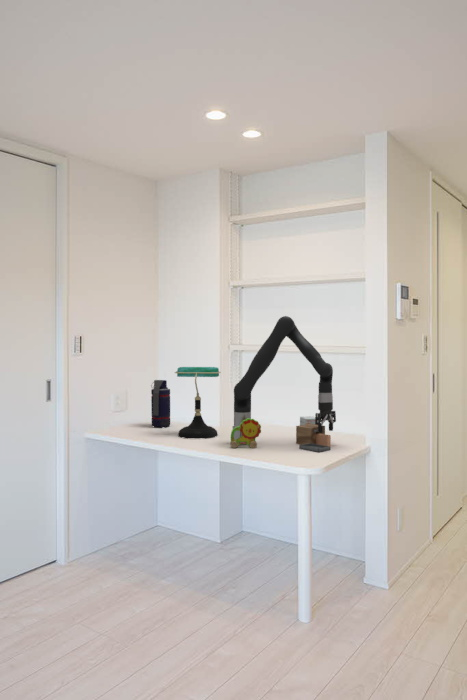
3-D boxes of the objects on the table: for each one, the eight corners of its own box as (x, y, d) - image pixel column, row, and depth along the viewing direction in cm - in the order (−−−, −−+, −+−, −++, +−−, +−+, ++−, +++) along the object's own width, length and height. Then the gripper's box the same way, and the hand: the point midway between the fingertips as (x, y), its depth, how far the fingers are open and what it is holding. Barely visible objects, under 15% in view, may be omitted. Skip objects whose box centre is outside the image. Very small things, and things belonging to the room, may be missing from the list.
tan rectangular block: (327, 447, 300) (327, 435, 300) (312, 444, 307) (312, 433, 307) (330, 446, 301) (330, 435, 301) (315, 444, 309) (315, 432, 309)
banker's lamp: (222, 432, 346) (222, 366, 345) (217, 439, 323) (217, 368, 322) (179, 431, 348) (179, 365, 347) (171, 438, 325) (171, 368, 324)
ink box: (305, 439, 322) (305, 418, 322) (299, 436, 330) (299, 416, 330) (319, 438, 324) (319, 417, 324) (313, 436, 333) (313, 415, 332)
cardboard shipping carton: (311, 446, 302) (311, 428, 301) (296, 443, 309) (296, 426, 309) (325, 443, 310) (325, 425, 309) (310, 440, 318) (310, 423, 317)
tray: (319, 452, 286) (319, 448, 286) (299, 448, 295) (299, 445, 295) (330, 450, 292) (330, 446, 292) (310, 446, 301) (310, 443, 301)
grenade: (156, 424, 376) (156, 379, 375) (173, 425, 372) (173, 379, 371) (146, 428, 363) (146, 380, 362) (164, 428, 359) (163, 381, 358)
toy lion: (230, 448, 297) (230, 419, 296) (230, 446, 302) (230, 417, 302) (261, 448, 297) (261, 419, 296) (260, 446, 302) (260, 417, 302)
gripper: (328, 399, 309) (328, 429, 310) (311, 401, 300) (311, 432, 300) (339, 400, 304) (339, 430, 304) (322, 402, 294) (322, 434, 295)
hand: (325, 431), depth 302 cm, fingers open, 8 cm apart
